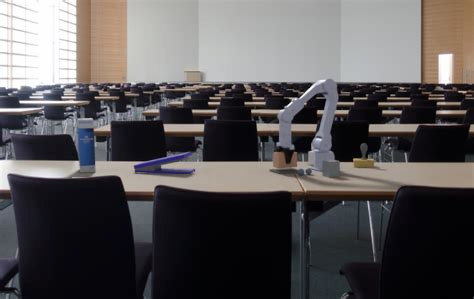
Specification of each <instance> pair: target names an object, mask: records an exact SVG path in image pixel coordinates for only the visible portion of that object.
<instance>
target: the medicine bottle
mask: <svg viewBox="0 0 474 299" xmlns="http://www.w3.org/2000/svg"><path fill="white" fill-rule="evenodd" d="M307 153H308V156H307V157H308V159H307V161H308V162H307V164H308V166H313V167H314V147H313V146H312V145H311V150H310V151H308V152H307Z"/></svg>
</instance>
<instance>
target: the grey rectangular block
mask: <svg viewBox="0 0 474 299" xmlns="http://www.w3.org/2000/svg"><path fill="white" fill-rule="evenodd" d="M340 167H341V161H339V160H336V159H334V160H323V162H322V171H321V172H322V173H321V176H322V177H326V178H338V177H339V178H340V176H341V175H340V174H341V168H340Z"/></svg>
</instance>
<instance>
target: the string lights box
mask: <svg viewBox="0 0 474 299" xmlns="http://www.w3.org/2000/svg"><path fill="white" fill-rule="evenodd" d="M76 119H77V125H76V126H77V144H78V145H77V148H78V162H79V163H78V164H79V165H78V166H79V172H80V174H82V173H96V172H97V170H96V169H97V168H96V151H95V150H96V149H95V148H96V147H95V127H94V126H95V125H94V119H93V118H92V117H89V118H87V117H86V118H76Z"/></svg>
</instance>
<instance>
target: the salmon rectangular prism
mask: <svg viewBox="0 0 474 299" xmlns="http://www.w3.org/2000/svg"><path fill="white" fill-rule="evenodd" d="M272 161H273V162H272V165H273V166H272V167H273V168H275V169H280V168H297V167H298V152H297V151H295V152H294V153H293V156H292V159H291V163H290V164H286V161H285V155H284V152H277V151H275V152H272Z"/></svg>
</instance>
